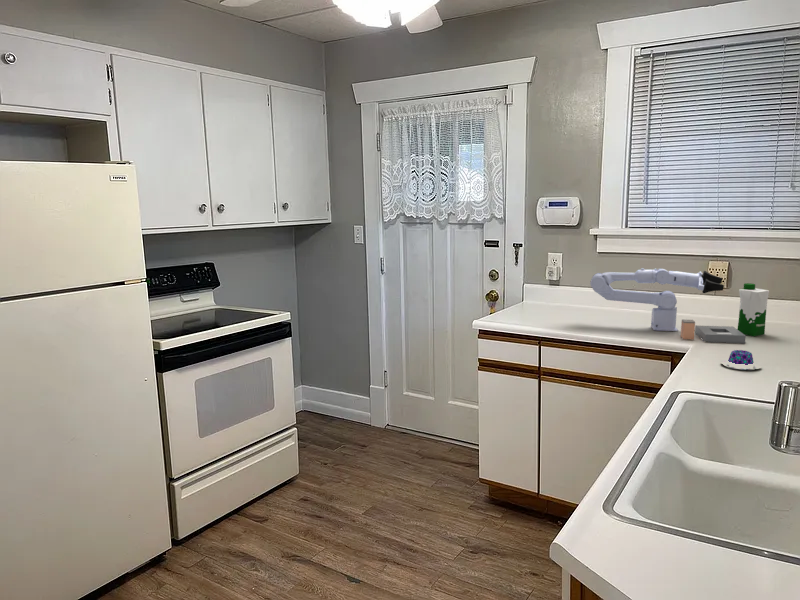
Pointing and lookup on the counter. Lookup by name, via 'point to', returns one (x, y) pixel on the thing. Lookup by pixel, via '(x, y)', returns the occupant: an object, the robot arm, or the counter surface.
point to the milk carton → (752, 310)
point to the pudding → (741, 357)
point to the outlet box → (720, 334)
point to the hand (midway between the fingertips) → (722, 284)
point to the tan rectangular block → (687, 329)
